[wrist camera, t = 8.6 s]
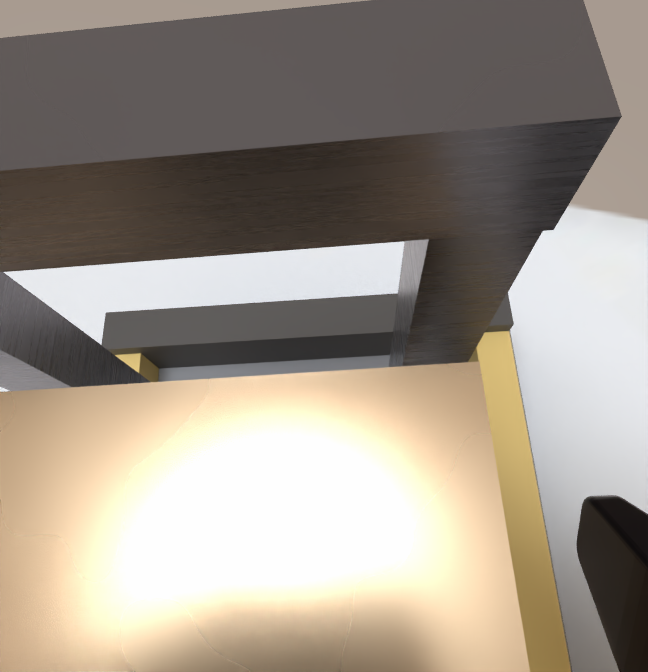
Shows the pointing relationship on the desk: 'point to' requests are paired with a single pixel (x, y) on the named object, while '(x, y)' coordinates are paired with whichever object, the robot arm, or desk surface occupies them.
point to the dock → (363, 353)
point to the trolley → (280, 389)
